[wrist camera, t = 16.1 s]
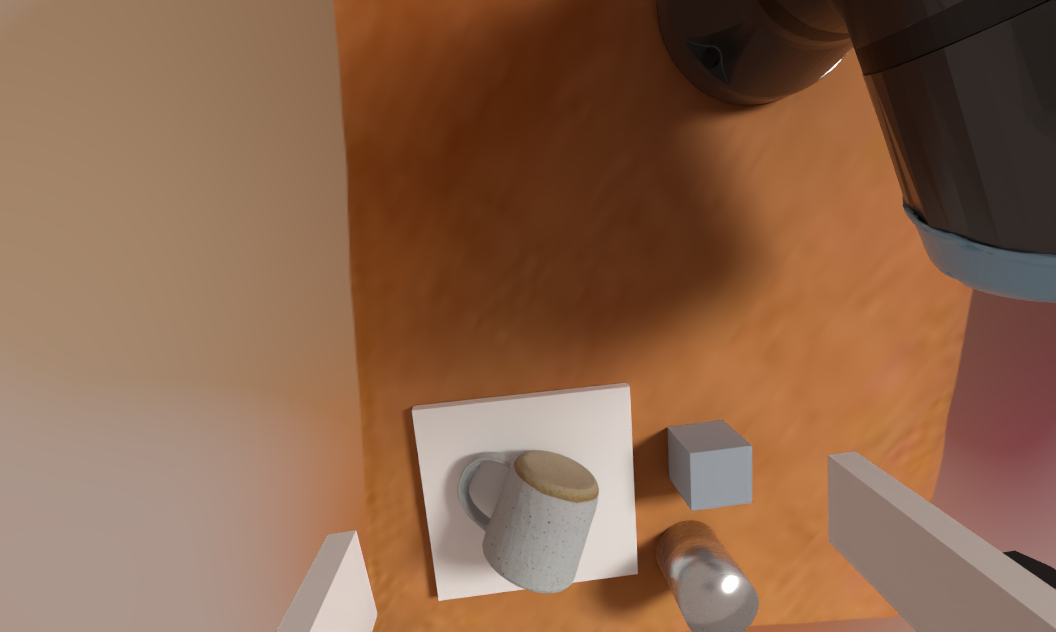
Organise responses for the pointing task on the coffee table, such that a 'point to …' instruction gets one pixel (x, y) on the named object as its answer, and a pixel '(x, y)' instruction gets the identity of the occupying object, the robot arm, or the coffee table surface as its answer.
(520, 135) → the coffee table surface
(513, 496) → the ceramic mug
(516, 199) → the coffee table surface
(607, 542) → the white thin square slab
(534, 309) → the coffee table surface
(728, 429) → the slate block
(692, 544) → the metal tin
